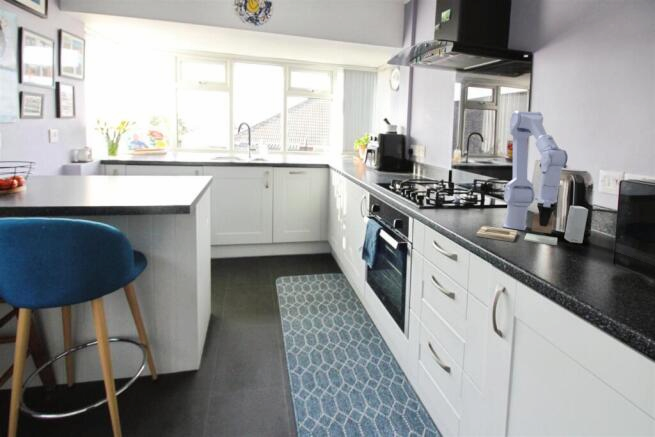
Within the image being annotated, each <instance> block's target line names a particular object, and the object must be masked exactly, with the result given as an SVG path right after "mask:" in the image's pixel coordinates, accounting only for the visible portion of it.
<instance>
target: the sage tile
mask: <svg viewBox="0 0 655 437" xmlns="http://www.w3.org/2000/svg"><path fill="white" fill-rule="evenodd" d="M523 239H524V240H523V241H525V242H532V243H538V244H545V245H552V246H557V245H558V237H554V236H548V235H540V234H535V233H529V232H527V233H526V234H525V236H524V238H523Z"/></svg>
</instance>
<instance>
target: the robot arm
mask: <svg viewBox="0 0 655 437" xmlns="http://www.w3.org/2000/svg"><path fill="white" fill-rule="evenodd" d="M543 122H544V116H543V114H542V113H541V112H540V111H537V112H536V111H523V110H521V111H520V110H515V111H514V112H513V113H512V115H511V116H510V120H509V134H510V135H511V136H512V179H511V180H510V181H508V182H507V183H506V184H505V186H504V188H505V189H504V191H503V192H504V193H503V200H504V202H505V203H506V205H507V208H506V214H505V220H504V224H503V225H502V228H504V229H507V228H508V229H511V230H513V229H514V230H519V231H520V230H521V231H526V229H527V226H528V225H527V224H526V221H527V214H528V208H529V207H530V206H531V205H532V204H533V202H534V201H535V200H537V201H539V202H537V205H536V206H537V209H538V213H539V219H540V226H545V227H547V225H548V222H549V219H550V217H551V215H552V214H554V212H555V210H556V204H555V203H557V202H558V194H559V189H560V182H561V176H562V171H563V168H564V167H566V165H567V163H568V159H569V158H568V156H569V155H568V153H567V151H566V150H565V149H562V148H559V145H557V143H556V141H555V139H554V137H553V136H552V135H550V134H548V133H547V132H546V130H545V127H544V125H543ZM531 136H533V137H534V138H535V140H536V141H535V147H536V149H537V151H538V152H539V155H541V157H540V160H539V161H540V165H541V167H540V171H541V172H542V173H541V178H540V184H539V189H538V190H539V192H538V196H536V193H535V190H534V184H533V182H531V181H530V180H529V179H528V138H529V137H531Z"/></svg>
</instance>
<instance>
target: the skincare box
mask: <svg viewBox="0 0 655 437" xmlns="http://www.w3.org/2000/svg"><path fill="white" fill-rule="evenodd" d="M568 209H569V210H568V215H567V220H566V226H565V233H564V239H565V240H566V241H568V242H569V243H577V244H583V240H584V236H585V235H584V234H585V230H586V224H587V218H588V214H589V209H588V208H586V207H584V206H580V205H570V206H569V208H568Z"/></svg>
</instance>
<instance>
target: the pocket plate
mask: <svg viewBox="0 0 655 437" xmlns="http://www.w3.org/2000/svg"><path fill="white" fill-rule="evenodd" d="M517 235H518V230H516V229H514V230H513V229H509V228H508V229H507V228H503V227H502V228H501V227H500V228H499V227H493V226H487V225H482V226H481V227H480V229H479V230H477V232H476V235H475V236H476V237H480V238H487V239H493V240H500V241H504V242H512V243H514V241H515V239H516V238H517Z"/></svg>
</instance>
